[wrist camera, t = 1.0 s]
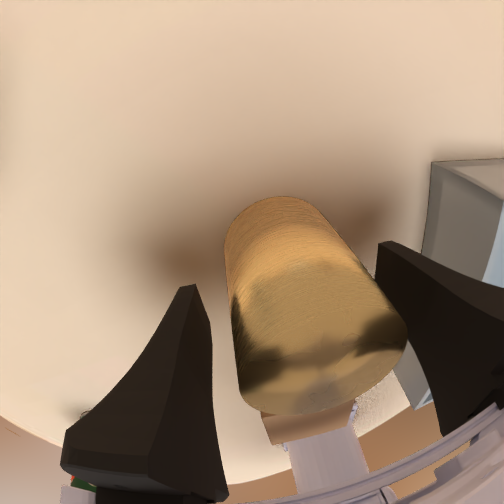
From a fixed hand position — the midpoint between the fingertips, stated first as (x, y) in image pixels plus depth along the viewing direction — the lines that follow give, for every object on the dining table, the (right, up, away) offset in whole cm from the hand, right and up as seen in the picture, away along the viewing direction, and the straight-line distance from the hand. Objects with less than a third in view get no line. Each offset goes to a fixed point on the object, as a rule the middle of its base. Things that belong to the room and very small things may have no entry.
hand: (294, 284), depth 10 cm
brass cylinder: (0, +1, +2) cm, 3 cm away
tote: (+15, 0, +6) cm, 16 cm away
